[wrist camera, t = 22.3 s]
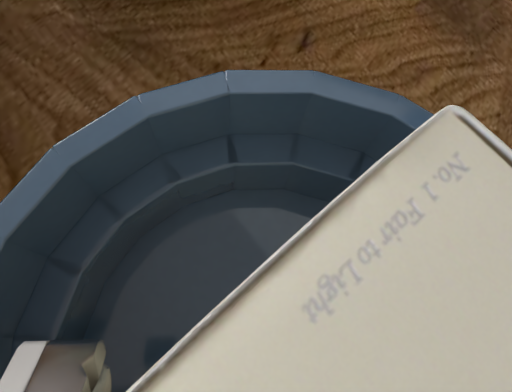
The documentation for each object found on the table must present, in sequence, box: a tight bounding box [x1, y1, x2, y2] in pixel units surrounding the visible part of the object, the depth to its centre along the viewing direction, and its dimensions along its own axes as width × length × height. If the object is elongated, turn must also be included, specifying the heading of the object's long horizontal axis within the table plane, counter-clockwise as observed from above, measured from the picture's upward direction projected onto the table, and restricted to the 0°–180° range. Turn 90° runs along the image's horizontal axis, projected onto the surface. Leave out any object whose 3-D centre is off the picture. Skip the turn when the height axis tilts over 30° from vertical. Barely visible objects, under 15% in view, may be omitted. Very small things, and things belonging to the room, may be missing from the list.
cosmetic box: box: [126, 105, 512, 392], centre depth 9 cm, size 6×4×12 cm
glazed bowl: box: [0, 70, 434, 392], centre depth 13 cm, size 17×17×6 cm
